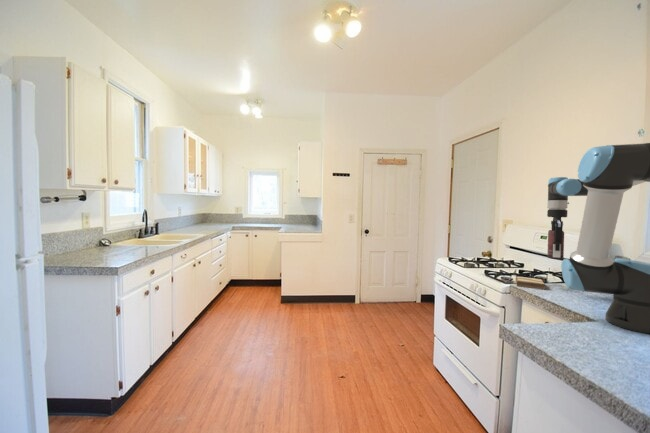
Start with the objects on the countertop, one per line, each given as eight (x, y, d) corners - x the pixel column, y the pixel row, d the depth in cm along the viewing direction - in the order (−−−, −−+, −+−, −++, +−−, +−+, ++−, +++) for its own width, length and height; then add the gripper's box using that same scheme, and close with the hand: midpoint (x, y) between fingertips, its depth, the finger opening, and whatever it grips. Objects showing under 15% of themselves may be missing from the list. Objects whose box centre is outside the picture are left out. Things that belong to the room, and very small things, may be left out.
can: (549, 258, 136) (550, 230, 135) (546, 256, 141) (547, 229, 141) (565, 260, 133) (566, 230, 133) (561, 258, 138) (562, 230, 138)
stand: (545, 289, 143) (545, 284, 142) (516, 286, 149) (517, 280, 149) (541, 284, 153) (542, 279, 153) (515, 281, 159) (515, 276, 159)
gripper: (571, 209, 126) (569, 260, 127) (563, 209, 141) (562, 255, 141) (550, 208, 130) (548, 258, 131) (545, 209, 144) (543, 254, 145)
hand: (555, 256), depth 136 cm, fingers open, 3 cm apart
